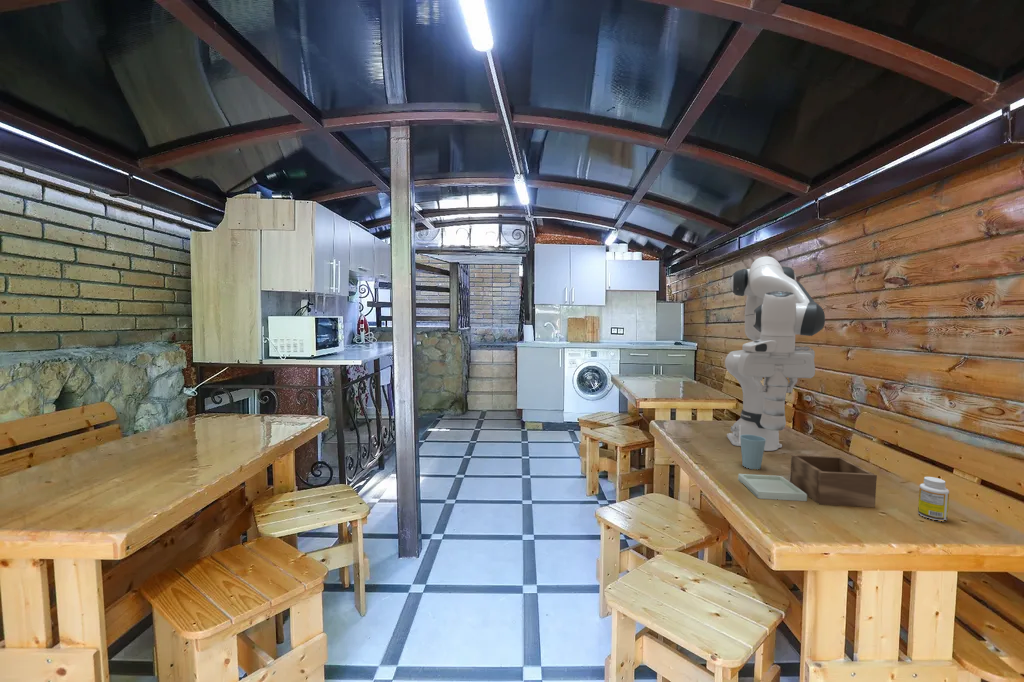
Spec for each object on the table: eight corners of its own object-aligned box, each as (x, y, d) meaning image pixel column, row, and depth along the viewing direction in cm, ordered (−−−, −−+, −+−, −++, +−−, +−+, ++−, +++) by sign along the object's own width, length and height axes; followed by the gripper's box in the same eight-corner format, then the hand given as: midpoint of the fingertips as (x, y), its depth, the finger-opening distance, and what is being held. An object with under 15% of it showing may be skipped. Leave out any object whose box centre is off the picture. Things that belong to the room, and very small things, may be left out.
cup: (768, 468, 146) (770, 438, 146) (757, 472, 142) (759, 442, 142) (746, 461, 153) (747, 433, 152) (735, 465, 148) (736, 436, 148)
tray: (738, 479, 136) (738, 473, 136) (781, 481, 134) (781, 475, 134) (758, 498, 122) (758, 491, 122) (806, 501, 120) (807, 494, 120)
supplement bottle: (930, 512, 114) (932, 475, 114) (953, 522, 109) (956, 483, 108) (911, 512, 114) (914, 475, 113) (934, 522, 108) (936, 483, 108)
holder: (789, 482, 134) (791, 454, 133) (838, 485, 132) (840, 456, 131) (819, 504, 118) (820, 472, 118) (875, 507, 117) (877, 475, 116)
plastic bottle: (781, 427, 130) (785, 362, 128) (788, 434, 123) (793, 366, 121) (757, 425, 131) (761, 361, 130) (763, 432, 125) (767, 365, 123)
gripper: (808, 345, 127) (806, 391, 128) (736, 344, 130) (735, 389, 131) (821, 347, 121) (818, 395, 122) (745, 346, 123) (743, 393, 124)
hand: (774, 392), depth 126 cm, fingers closed on plastic bottle, 6 cm apart
